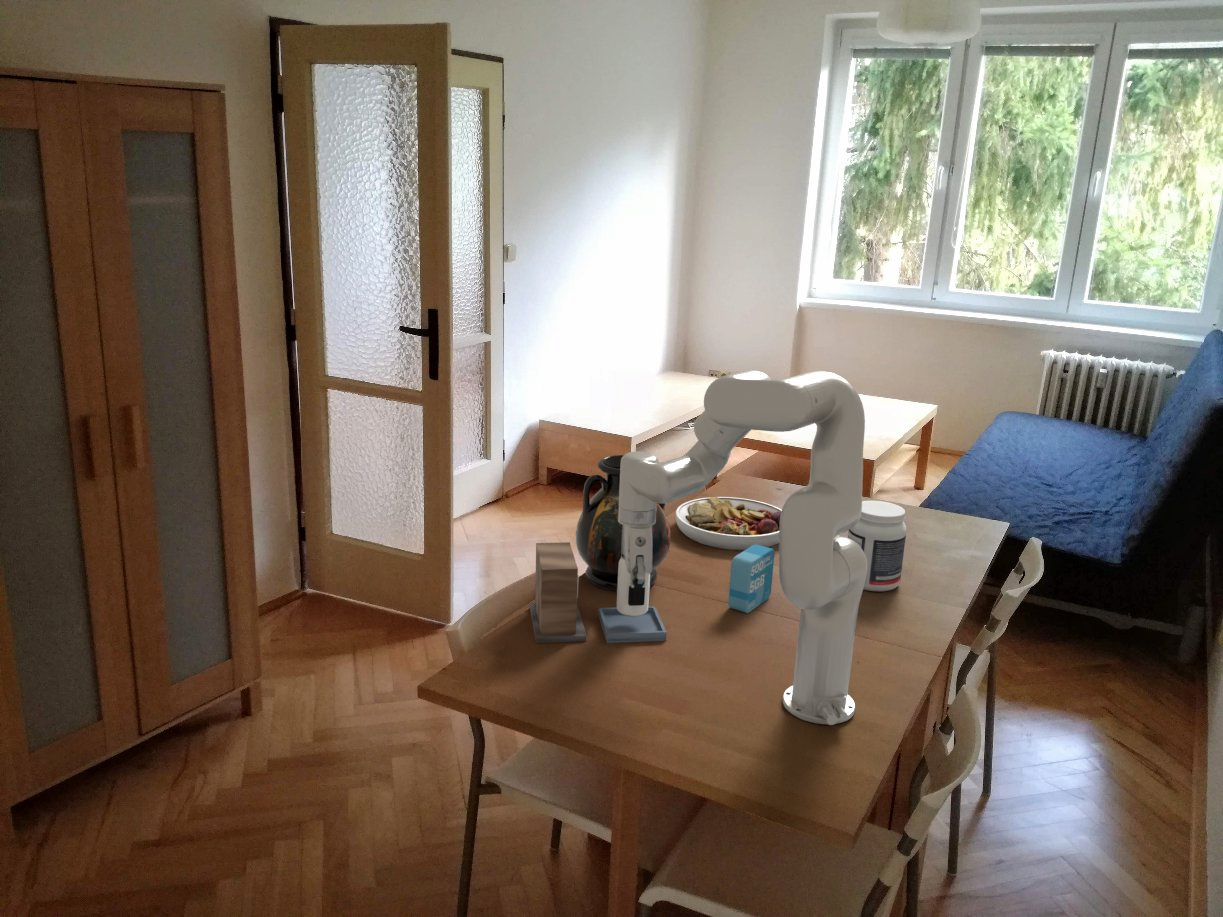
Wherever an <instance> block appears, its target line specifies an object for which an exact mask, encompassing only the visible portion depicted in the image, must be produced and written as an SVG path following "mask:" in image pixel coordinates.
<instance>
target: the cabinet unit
mask: <svg viewBox="0 0 1223 917" xmlns="http://www.w3.org/2000/svg"><path fill="white" fill-rule="evenodd" d="M575 558H576V557H575V555H574V551H573V547H572V545H571V542H569V541H568V542H565V541H564V542H536V543H535V590H534V591H535V592H534V593H535V596H534V598H535V599H534V602H529V611H530V616H531V621H532V622H531V623H532V628H533V634H534V639H535V640H534V641H535V643H536V644H552V643H554V644H555V643H570V642H571V643H573V642H576V643H578V642H587V633H586V629H585V626H584V622H583V618H582V615H581V611H580V608H579V605H578V599H579V582H580V577H579V573H578V572H579V568H578V566H577V562H576V559H575Z"/></svg>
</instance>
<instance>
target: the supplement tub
mask: <svg viewBox="0 0 1223 917" xmlns="http://www.w3.org/2000/svg"><path fill="white" fill-rule="evenodd" d="M905 520H906V510H905V509H904V508H903V507H902V506H900V505H898V504H895V503H892V502H889V501H884V500H883V501H882V500H862V512H861V517H860V519H859V521H858V523H857V524H856V525H855V526H854V527H852V528H851V529H849V530H848V531H847V532H848V534H847V538H849V539H851V540H853V541H855V542H856V543H857V544H858V545H859V546H860V547H861V548H862V550H863V552H864V554H865V556H866V560H867V576H866V581H865V585H864V588H863V591H869V592H870V591H871V592H888V591H892V590H894V589H896V588H897V587H899V585H900V583H901V581H902V580H901V577H902V570H903V562H904V552H905V544H906V538H907V531H908V530H907V526H906V523H905V522H904V521H905Z"/></svg>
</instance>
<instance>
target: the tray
mask: <svg viewBox="0 0 1223 917" xmlns="http://www.w3.org/2000/svg"><path fill="white" fill-rule="evenodd" d="M598 619H599V622H600V626H601V628H602V631H603V635H604V638H605V641H606V643H607V644H613V643H616V644H617V643H639V642H661V641H662V642H664V641H665V642H666V641H667V634H668V632H667V630H666V628H665V626H664V624H663V621H662V619H661V616H660V615H659V612H658V610H657V607H656V606H653V605H652V606H650V605H648V611H647V612H646V613H645V614H644V615H642V616H637V617H631V616H625V615H622V614H621V613H619V611H618V610H617V607H599V608H598Z"/></svg>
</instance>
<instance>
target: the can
mask: <svg viewBox="0 0 1223 917" xmlns="http://www.w3.org/2000/svg"><path fill="white" fill-rule="evenodd" d="M633 572H637V568H634V569H633ZM635 578H637V575H634V580H635ZM629 586H631V584H630V573H628V572H627V568H626V563H625V559H624V557H623V553H622V554H621V559H620V560H619V566H618V586H617V591H616V608H617V610H618V611H619V613H621V614H622V615H625V616H631V617H637V616H642V615H644V614H645V613H646V612H647V611H648V606H649V604H650V603H649V601H650V588H651V585H650V574H649V573H647V572H646V570H645V600H644V605H638V606H629V604H628V595H629Z"/></svg>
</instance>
